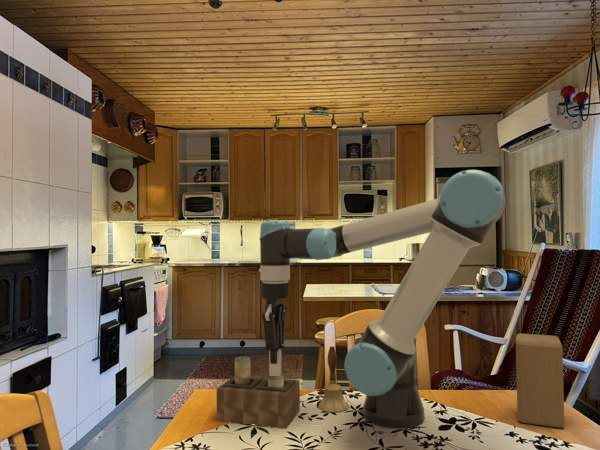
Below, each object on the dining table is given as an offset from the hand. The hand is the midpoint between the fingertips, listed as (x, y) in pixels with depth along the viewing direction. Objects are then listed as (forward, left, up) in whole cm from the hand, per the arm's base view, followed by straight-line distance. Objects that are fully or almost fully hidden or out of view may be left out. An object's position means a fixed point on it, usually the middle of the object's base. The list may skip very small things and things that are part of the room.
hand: (275, 375), depth 119 cm
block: (-64, -15, -11) cm, 66 cm away
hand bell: (-13, -11, -11) cm, 20 cm away
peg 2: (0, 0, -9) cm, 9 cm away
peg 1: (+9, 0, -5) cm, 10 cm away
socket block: (+4, 0, -11) cm, 11 cm away
